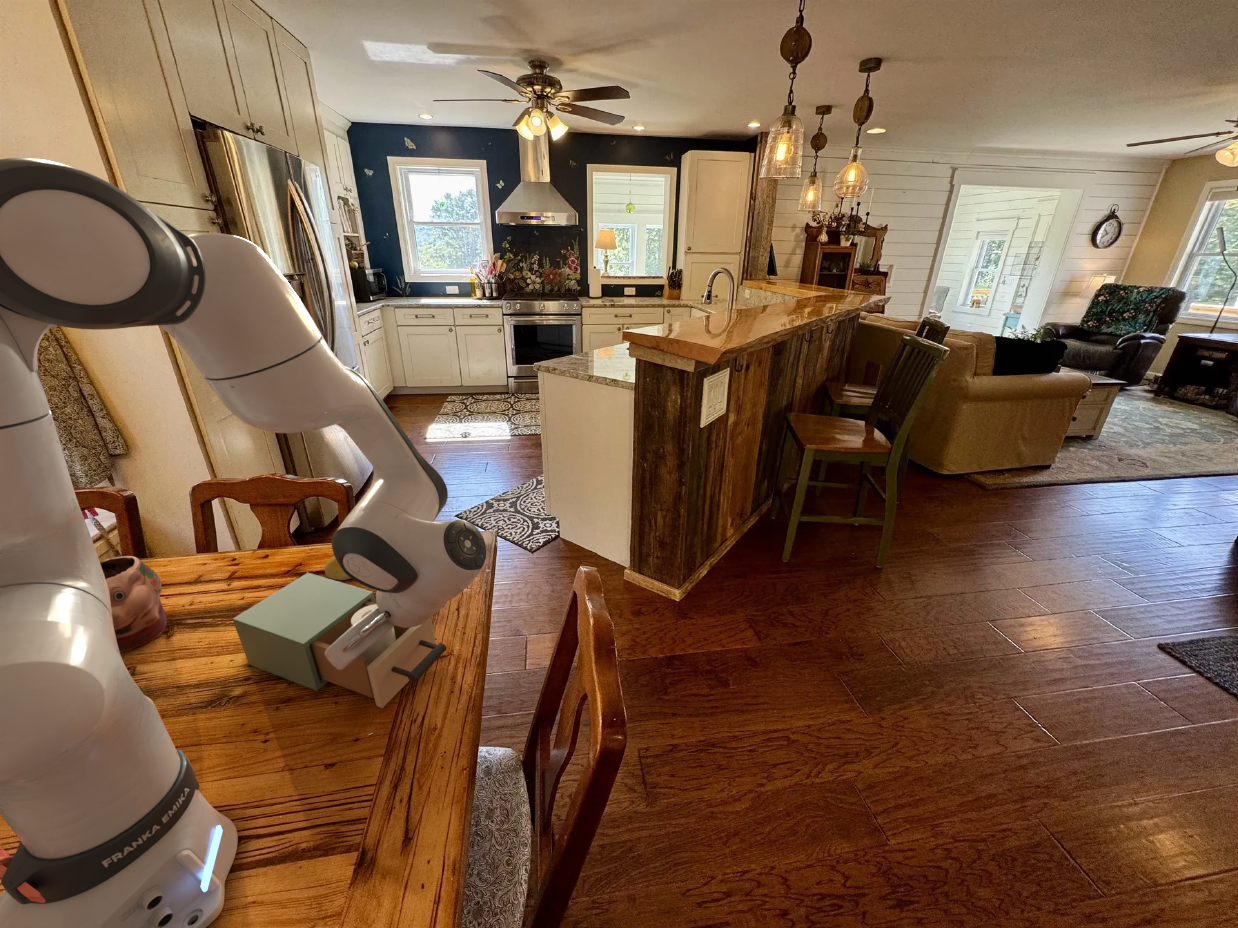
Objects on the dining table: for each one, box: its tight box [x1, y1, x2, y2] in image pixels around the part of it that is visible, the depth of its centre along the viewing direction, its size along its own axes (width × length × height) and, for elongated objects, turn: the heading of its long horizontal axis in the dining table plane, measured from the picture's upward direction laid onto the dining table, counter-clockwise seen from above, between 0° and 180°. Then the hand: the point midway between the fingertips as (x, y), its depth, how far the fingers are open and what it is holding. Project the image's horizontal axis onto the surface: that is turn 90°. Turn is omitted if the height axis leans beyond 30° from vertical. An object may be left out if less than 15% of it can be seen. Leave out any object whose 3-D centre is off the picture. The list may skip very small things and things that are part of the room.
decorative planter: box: [100, 555, 168, 653], centre depth 87 cm, size 20×12×14 cm, turn 49°
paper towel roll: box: [351, 603, 396, 665], centre depth 79 cm, size 6×6×8 cm
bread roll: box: [324, 555, 352, 581], centre depth 107 cm, size 8×9×4 cm
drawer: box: [309, 601, 447, 709], centre depth 79 cm, size 19×12×8 cm, turn 70°
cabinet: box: [232, 572, 377, 692], centre depth 84 cm, size 16×14×10 cm
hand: (371, 630), depth 79 cm, fingers closed on paper towel roll, 6 cm apart
